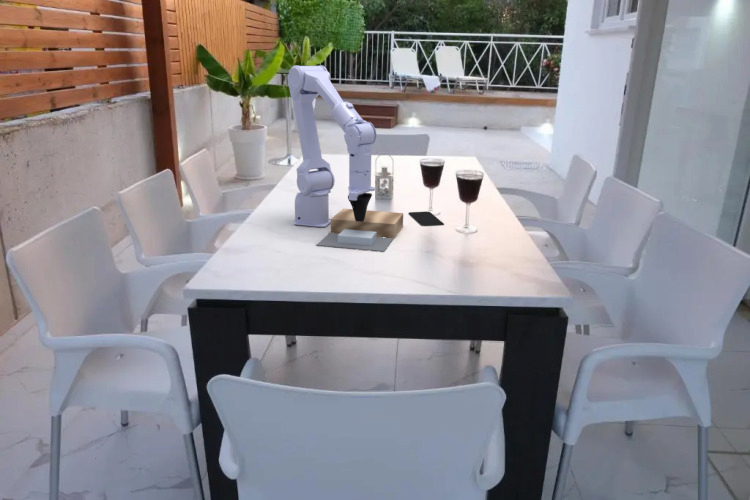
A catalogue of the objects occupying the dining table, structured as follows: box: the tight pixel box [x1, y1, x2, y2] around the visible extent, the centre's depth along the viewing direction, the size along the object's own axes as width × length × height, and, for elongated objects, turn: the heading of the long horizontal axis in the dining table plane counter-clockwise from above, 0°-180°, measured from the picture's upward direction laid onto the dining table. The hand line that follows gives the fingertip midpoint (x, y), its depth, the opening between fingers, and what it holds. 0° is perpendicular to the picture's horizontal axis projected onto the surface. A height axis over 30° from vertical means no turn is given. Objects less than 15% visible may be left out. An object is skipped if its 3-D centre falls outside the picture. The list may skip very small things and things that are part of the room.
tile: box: [338, 229, 377, 246], centre depth 156 cm, size 9×6×2 cm, turn 76°
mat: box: [315, 232, 394, 253], centre depth 155 cm, size 18×11×1 cm, turn 76°
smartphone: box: [408, 211, 445, 227], centre depth 179 cm, size 7×1×15 cm
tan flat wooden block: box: [330, 208, 404, 239], centre depth 166 cm, size 18×12×4 cm, turn 76°
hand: (359, 220), depth 158 cm, fingers closed
